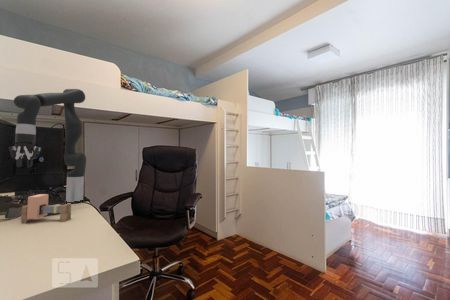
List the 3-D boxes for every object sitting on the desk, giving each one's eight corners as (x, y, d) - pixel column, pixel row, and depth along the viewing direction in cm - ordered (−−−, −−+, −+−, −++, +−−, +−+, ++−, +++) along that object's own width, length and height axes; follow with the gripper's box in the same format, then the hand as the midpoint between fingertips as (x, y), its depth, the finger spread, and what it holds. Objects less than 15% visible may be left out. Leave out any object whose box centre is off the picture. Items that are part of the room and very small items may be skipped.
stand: (29, 219, 100) (30, 204, 100) (70, 218, 103) (71, 203, 103) (21, 223, 95) (21, 206, 95) (64, 221, 98) (65, 205, 98)
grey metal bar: (30, 212, 99) (31, 205, 100) (67, 211, 102) (68, 204, 102) (25, 214, 96) (25, 206, 96) (63, 213, 99) (63, 206, 99)
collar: (38, 215, 102) (39, 194, 102) (47, 214, 102) (48, 194, 103) (26, 219, 94) (27, 197, 95) (36, 219, 95) (37, 196, 96)
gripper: (46, 134, 112) (45, 166, 111) (16, 133, 109) (14, 166, 109) (36, 133, 104) (34, 167, 104) (3, 132, 102) (1, 167, 101)
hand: (24, 166), depth 106 cm, fingers open, 4 cm apart
